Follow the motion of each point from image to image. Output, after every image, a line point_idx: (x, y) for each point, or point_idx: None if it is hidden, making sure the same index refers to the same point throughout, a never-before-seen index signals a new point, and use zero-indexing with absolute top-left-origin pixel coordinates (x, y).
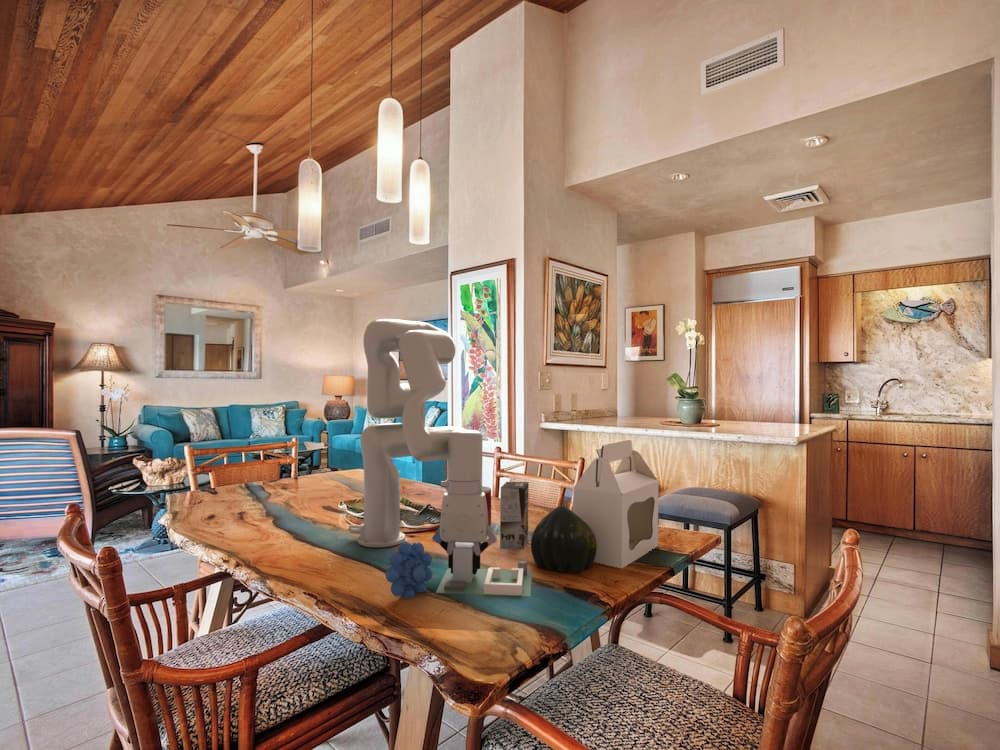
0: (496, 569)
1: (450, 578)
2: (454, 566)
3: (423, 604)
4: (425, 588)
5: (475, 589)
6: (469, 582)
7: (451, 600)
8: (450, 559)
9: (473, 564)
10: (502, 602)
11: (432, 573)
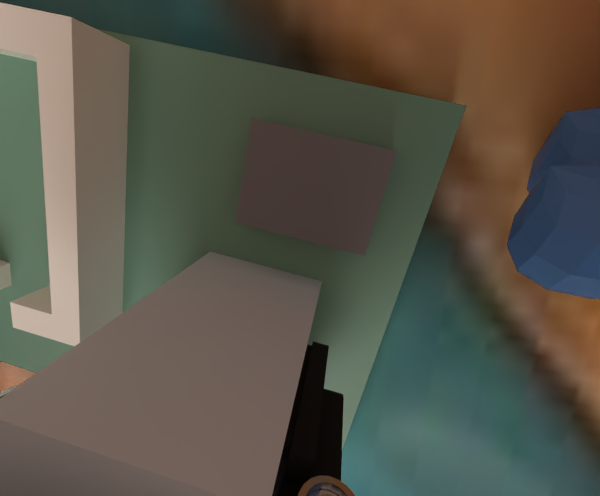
0: (33, 307)
1: (332, 332)
2: (296, 331)
3: (558, 15)
4: (562, 126)
5: (185, 133)
6: (222, 252)
7: (349, 74)
8: (322, 440)
9: None
10: (54, 12)
11: (524, 237)
